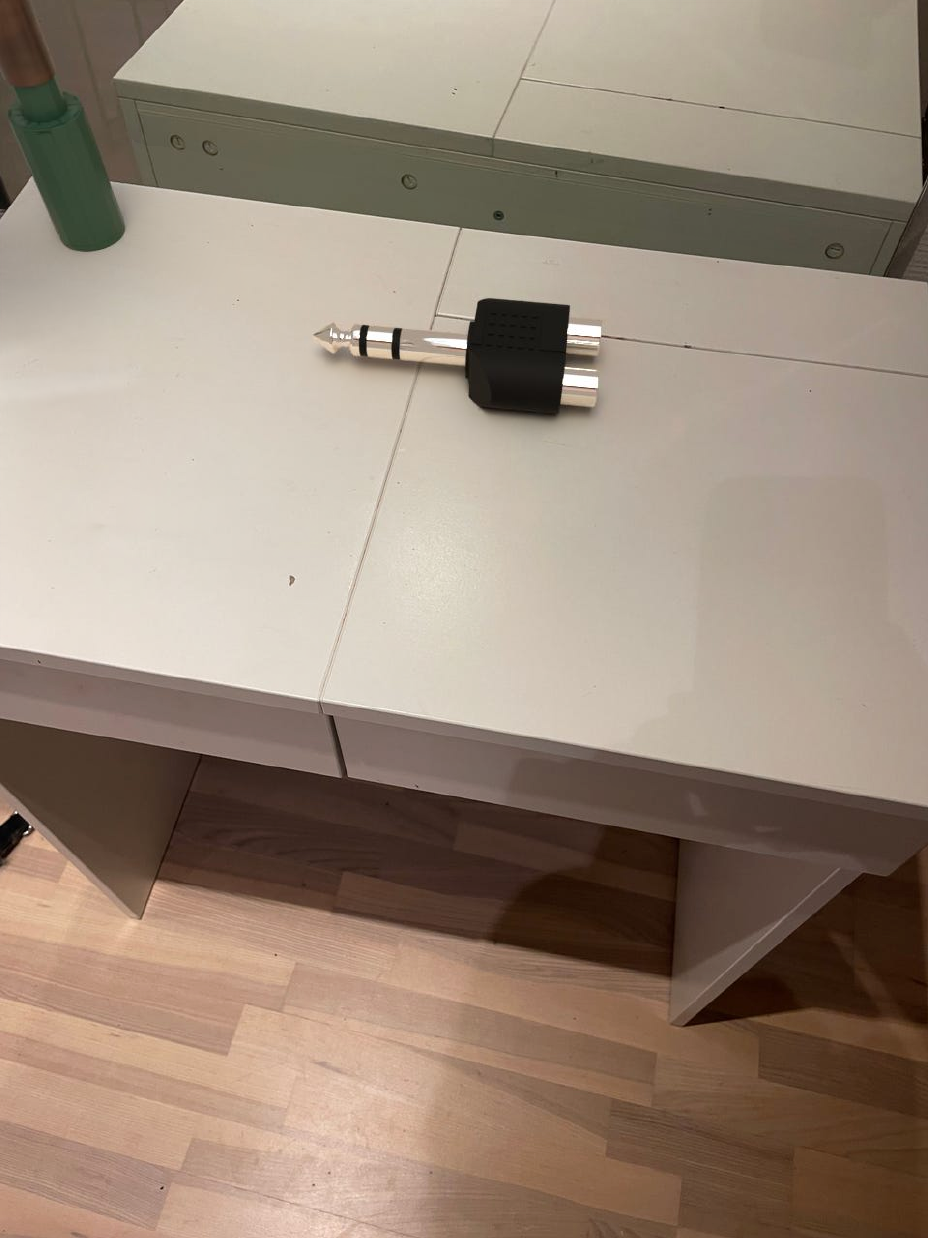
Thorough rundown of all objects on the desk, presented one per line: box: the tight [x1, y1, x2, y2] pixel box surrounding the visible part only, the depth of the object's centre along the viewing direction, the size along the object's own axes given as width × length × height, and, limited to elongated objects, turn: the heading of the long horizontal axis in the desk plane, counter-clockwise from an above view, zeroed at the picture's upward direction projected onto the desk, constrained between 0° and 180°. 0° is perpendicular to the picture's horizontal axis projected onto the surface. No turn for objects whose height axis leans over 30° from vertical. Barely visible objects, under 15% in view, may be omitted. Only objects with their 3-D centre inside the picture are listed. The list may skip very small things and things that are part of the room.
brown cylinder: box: [0, 0, 57, 87], centre depth 72 cm, size 4×4×8 cm
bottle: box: [6, 73, 126, 252], centre depth 81 cm, size 6×6×15 cm
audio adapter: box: [312, 297, 603, 415], centre depth 76 cm, size 11×5×25 cm
